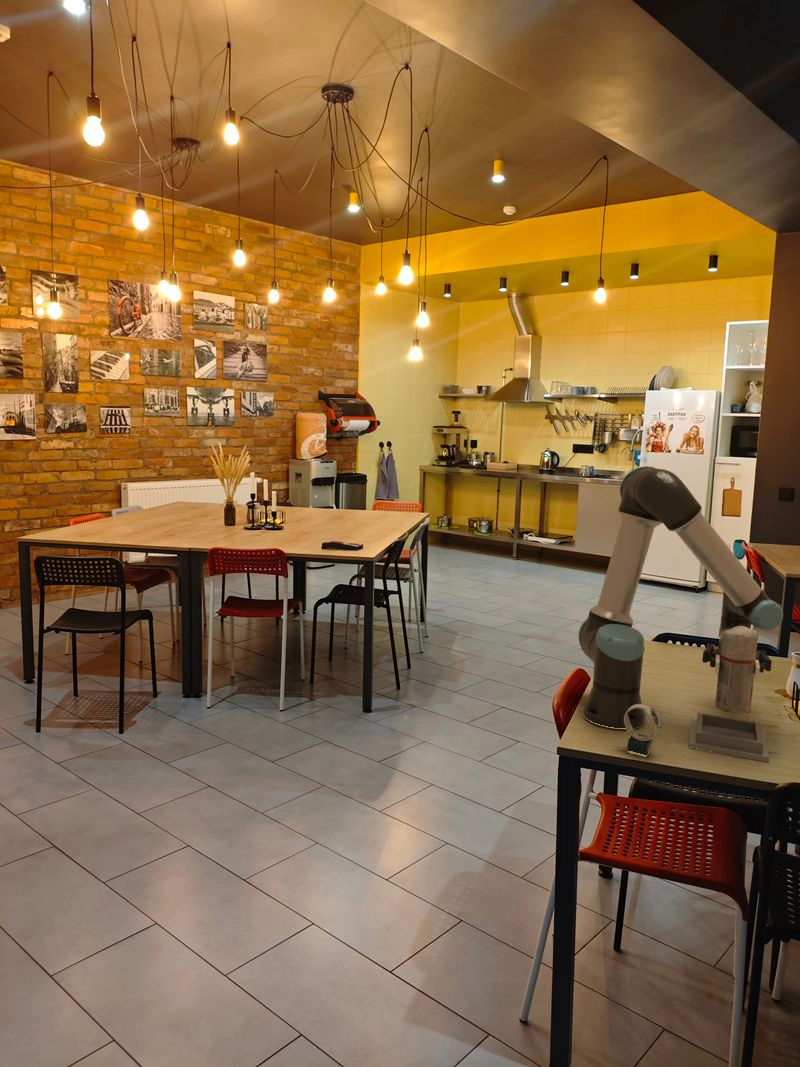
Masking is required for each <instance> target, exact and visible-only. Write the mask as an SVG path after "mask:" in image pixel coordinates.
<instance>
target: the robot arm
mask: <svg viewBox="0 0 800 1067" xmlns="http://www.w3.org/2000/svg"><path fill="white" fill-rule="evenodd" d="M619 494H620V498H621V500H620V503H619V506H618V511H617V513H618V515H619V516H620V518H621V521H620V525H619V528H618V532H617V535H616V539H615V542H614V546H613V550H612V552H611V556H610V561H609V564H608V566H607V570H606V574H605V578H604V580H603V585H602V589H601V592H600V595H599V598H598V602H597V604H596V605H595V606H592V607H591V608H589V612H588V615H587V618H586V619H585V620H583V622H582V623H581V625H580V627H579V629H578V635H577V636H578V642H579V645H580V646H579V647H580V648H581V650H582V652H583V653H584V655H585V656H586V657H588V659H590V660H591V662H592V663H593V665H594V666H593V677H592V688H591V689H590V692H589V694H588V696H587V699H586V701H585V704H584V706H583V713H582V714H584V716H585V718H587V719H588V720H590V721H592V722H594V723H597V724H600V725H604V726H608V727H614V728H626V727H625V724H624V716H625V713H626V712H627V710H628V709H629V708H630V707H631V706H633V705H636V704H643V700H642V698H641V692H640V691H641V682H642V671H643V661H644V660H643V659H644V652H645V642H644V641H645V639H644V635H643V634H642V633H641V632H640V631H639V630H638V629H636V628H634V627H633V624H634V620H633V618H632V617H631V614H630V612H631V609H632V608H633V607H632V606H633V602H634V599H635V596H636V592H637V588H638V586H639V584H640V583H639V582H640V578H641V577H642V571H643V568H644V565H645V562H646V558H647V555H648V552H649V548H650V544H651V540H652V537H653V533H654V531H655V528H656V527H659V526H660V525H661V524H663V525H664V526H665V527H666V529H667V530H668V531H669V532H675V533H676V535H678V537H679V538H680V539H681V541H682V542H683V543H684V544H685V546H686V547H687V548H688V549H689V550H690V551H691V553H692V554H693V555H694V556H695V558H696V559H697V560H698V561H699V563H700V564H701V566H703V567H704V569H705V570H706V571H707V572H708V574H709V575H710V576H711V578H712V579H713V580H714V581H715V582H716V584H717V585H718V586H719V587H720V588H721V589H722V603H721V604H722V606H721V618H720V626H719V628H718V629H719V632H718V637H719V645H717V646H716V645H715V644H713V643H712V642H708V643H706V648H705V649H703V652H702V658H701V659H702V660H701V661H702V662H703V663H705V664H706V663H708V662H709V667H710V668H714V674H718V673H719V663H720V650H721V644H722V634H723V632H724V631H728V630H732V629H733V628H734V627H737V626H745V627H747V628H750V629H752V627H751V626H753V628H756V629H760V630H762V631H773V630H775V629H776V628H778V627H779V626H780V625H781V623H782V622H783V619H784V612H783V611H784V610H783V609H782V607H781V606H780V605H779V603H777V602H776V601H774V600H772V599H770V598H769V596H768V595H767V594H766V592H765V591H764V590H763V589H762V588H761V587H760V585H759V584H758V583H757V581H756V580H755V579H754V578H753V576H752V575H751V574H750V573H749V572H748V570H747V569H746V568H745V566H744V565H743V564H742V562H741V561H740V560H739V559H738V558H737V556H736V555H735V554H734V553H733V551H732V550H731V549H730V547H729V546H728V545H727V544H726V542H725V541H724V540H723V539H722V537H721V536H720V535H719V533H718V532H717V531H716V530H715V529H714V527H713V526H712V525H711V524H710V522H709V521H708V519H706V517H705V516H704V515H703V513H702V511H703V507H702V505H701V504H700V502H699V501H698V500H697V499H696V498H695V496H694V494H692V492H691V491H690V489H689V488H688V487H687V486H686V484H685V483H684V482H683V481H682V479H680V477H679V476H678V475H676V474H675V473H674V472H672V471H670V470H667V469H663V468H656V467H653V466H648V465H647V466H639V467H636V468H633V469H632V470H629V472H627V473H626V474H625V475H624V477H623V478H622V480H621V481H620V485H619ZM771 671H772V659H771V658H770V657H769V655H767V651H766V650H765V649H761V650H757V651H756V660H755V672H754V679H756V680H759V679H760V673H761V674H764V672H771ZM584 716H583V717H584ZM628 717H629V721H630V724H631V726H632V728H637V727H640V726H642V725H643V724H644V725H645V720H646V719H645V718H646V714H645V712H644V709H642V708H641V709H640V708H635V709H632V710H630V711H629V712H628ZM585 718H584V719H585ZM644 725H643V726H644ZM643 726H642V727H643ZM640 728H641V727H640ZM637 729H638V728H637Z"/></svg>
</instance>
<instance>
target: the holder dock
mask: <svg viewBox="0 0 800 1067" xmlns="http://www.w3.org/2000/svg"><path fill="white" fill-rule="evenodd" d="M689 731H690V733H689V741H688V742H689V744H688V748H689V747H693V748H698V749H703V750H707V751H706V752H708V751H712V752H711V753H713V752H716V753H715V754H719V753H722V754H721V755H724V754H727V755H726V756H730V755H732V756H731V757H736V756H737V758H741V757H743V758H742V759H747V758H748V759H749V760H752V759H754V761H757V762H763V763H769V760H770V757H769V756H770V755H769V749H768V744H767V739H766V737H767V736H766V731H765V730H762V725H761V722H759V721H754V720H748V719H742V718H736V717H730V716H723V715H717V714H712V713H711V714H710V713H705V712H700V711H698V712H697V716H696V719H694V718H691V720H690V730H689Z"/></svg>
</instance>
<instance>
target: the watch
mask: <svg viewBox="0 0 800 1067" xmlns="http://www.w3.org/2000/svg"><path fill="white" fill-rule="evenodd" d="M635 708H640V709H641V708H642V709H644V713H645V718H646V719H645V720H646V721H647V724H648V725H649V727H650V728H651V729H652V731H653V734H651V735H645V734H641V733H636V732H635V731H634V730H635V729H633V728H632V726H631V724H630V721H629V717H628V712H629V711H630V710H632V709H635ZM624 724H625V727H626V729H627V730H626V731H627V733H628V735H629V738H628V740H627V749H626V751H627V750H628V751H633V752H636V753H640V754H644V755H647V754H648V752H649V750H650V748H651V749H652V741H653V739H654V738H655V736H656V735H657V734H658V732H659V730H660V728H661V721H660V718H659V715H658V714H657V712H656V710H655V709H654V708H653V707H650V706H649V705H647V704H644V703H642V704H636V705H633V706H631V707H630V708H629V709H628V710H627V712H626V713H625V716H624ZM650 751H651V750H650ZM649 753H650V752H649ZM648 755H649V754H648Z"/></svg>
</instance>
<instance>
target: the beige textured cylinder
mask: <svg viewBox="0 0 800 1067" xmlns="http://www.w3.org/2000/svg"><path fill="white" fill-rule="evenodd" d="M759 635H760V634H759V633H758V631H757V630H756V629H752V628H751V629H750V628H747V627H745V626H737V627H734V628H733V629H732V630H728V631H724V632H723V634H722V644H721V650H720V663H719V673H717V682H716V683H717V684H716V695H715V706H716V708H717V709H718V710H721V711H722V712H725V713H731V714H734V715H735V714H737V715H741V714H742V715H744V714H750V713H751V712H752V708H751V707H752V702H753V701H752V698H753V691H754V690H753V689H754V688H753V687H754V683H755V682H754V681H755V680H754V679H755V674H754V672H755V660H756V652H757V649H758V648H757V647H758V641H759Z"/></svg>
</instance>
